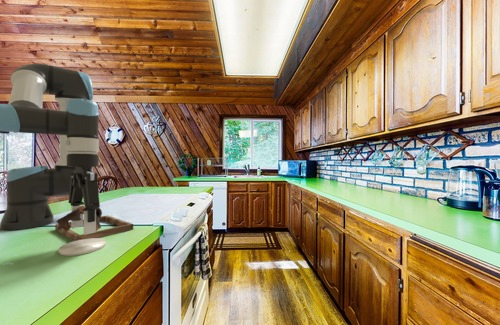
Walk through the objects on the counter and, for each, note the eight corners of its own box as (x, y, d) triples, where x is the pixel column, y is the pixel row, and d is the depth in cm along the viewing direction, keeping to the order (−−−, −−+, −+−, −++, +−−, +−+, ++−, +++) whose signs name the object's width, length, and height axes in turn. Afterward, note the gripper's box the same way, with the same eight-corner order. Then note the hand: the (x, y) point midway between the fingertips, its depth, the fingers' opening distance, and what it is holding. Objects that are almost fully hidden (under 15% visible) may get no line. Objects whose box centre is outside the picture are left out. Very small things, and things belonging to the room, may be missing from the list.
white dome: (53, 249, 65) (53, 246, 65) (97, 238, 73) (97, 235, 73) (65, 259, 58) (65, 255, 58) (112, 246, 67) (112, 243, 67)
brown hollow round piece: (89, 238, 61) (69, 213, 59) (62, 251, 62) (43, 227, 61) (116, 216, 72) (100, 195, 71) (93, 228, 74) (78, 207, 72)
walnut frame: (55, 229, 83) (55, 224, 83) (107, 220, 97) (107, 215, 97) (76, 243, 70) (76, 236, 70) (133, 229, 84) (133, 224, 84)
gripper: (55, 153, 69) (55, 226, 69) (81, 151, 56) (81, 241, 56) (84, 154, 75) (84, 221, 75) (113, 152, 62) (114, 233, 62)
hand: (83, 230), depth 66 cm, fingers closed on brown hollow round piece, 9 cm apart
